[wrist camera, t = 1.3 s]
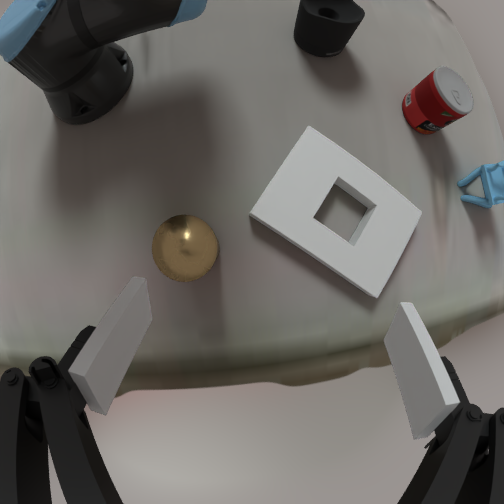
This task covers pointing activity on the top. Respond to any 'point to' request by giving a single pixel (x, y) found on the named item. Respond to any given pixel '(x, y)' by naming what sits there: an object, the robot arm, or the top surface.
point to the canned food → (437, 101)
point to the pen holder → (326, 25)
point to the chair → (487, 185)
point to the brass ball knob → (185, 248)
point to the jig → (313, 194)
